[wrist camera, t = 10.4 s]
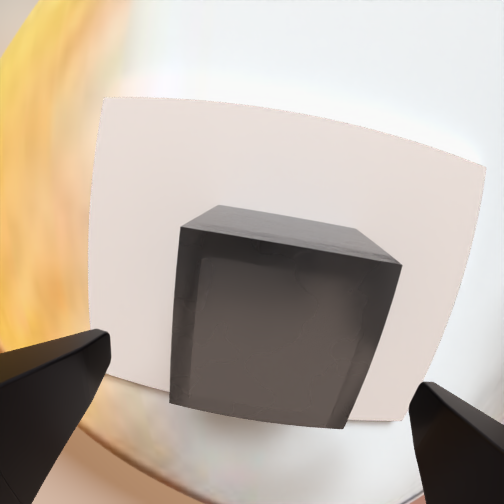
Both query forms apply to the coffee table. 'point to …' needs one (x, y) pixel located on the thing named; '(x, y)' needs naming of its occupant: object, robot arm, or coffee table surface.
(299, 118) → the post plate
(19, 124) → the coffee table surface
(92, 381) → the robot arm
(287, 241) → the dark grey framed cube
